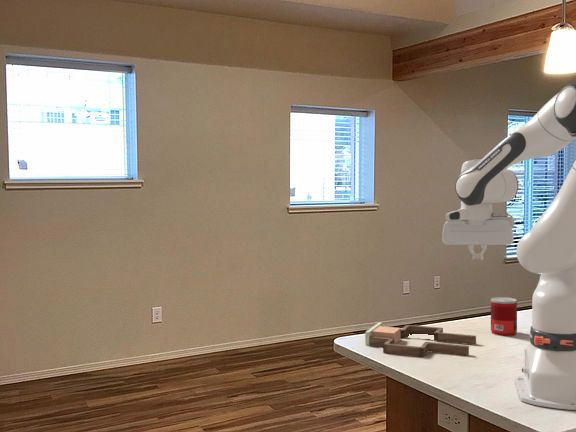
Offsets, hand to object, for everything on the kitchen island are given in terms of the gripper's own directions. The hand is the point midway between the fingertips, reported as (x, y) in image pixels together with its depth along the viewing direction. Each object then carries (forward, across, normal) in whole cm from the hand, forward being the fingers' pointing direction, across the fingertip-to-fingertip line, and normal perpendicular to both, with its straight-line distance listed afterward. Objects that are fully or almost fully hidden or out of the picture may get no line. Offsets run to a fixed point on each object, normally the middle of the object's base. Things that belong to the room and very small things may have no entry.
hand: (477, 259), depth 186 cm
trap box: (+25, +17, +4) cm, 31 cm away
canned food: (+26, -5, -18) cm, 32 cm away
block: (+26, +28, +5) cm, 38 cm away
